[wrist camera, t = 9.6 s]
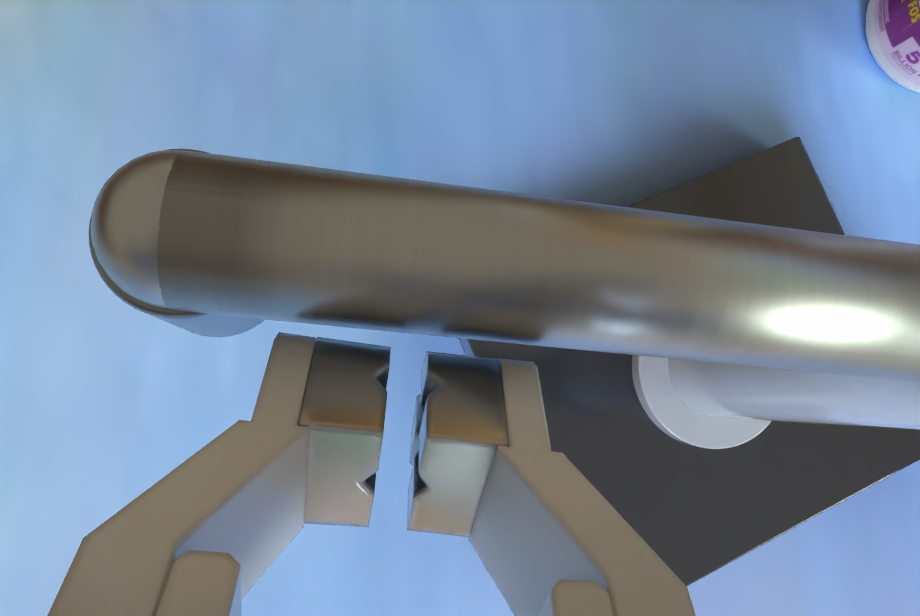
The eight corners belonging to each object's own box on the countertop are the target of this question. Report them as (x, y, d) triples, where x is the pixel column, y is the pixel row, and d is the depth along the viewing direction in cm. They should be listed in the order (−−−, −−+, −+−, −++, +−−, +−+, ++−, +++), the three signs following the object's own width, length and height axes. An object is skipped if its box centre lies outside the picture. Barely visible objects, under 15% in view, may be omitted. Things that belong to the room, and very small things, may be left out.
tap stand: (580, 621, 24) (823, 853, 12) (436, 289, 24) (528, 184, 12) (911, 444, 26) (1382, 484, 14) (775, 149, 27) (1120, -48, 15)
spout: (1043, 260, 15) (1302, 211, 11) (1049, 460, 14) (1323, 484, 10) (168, 148, 12) (82, 28, 8) (133, 386, 11) (26, 381, 8)
